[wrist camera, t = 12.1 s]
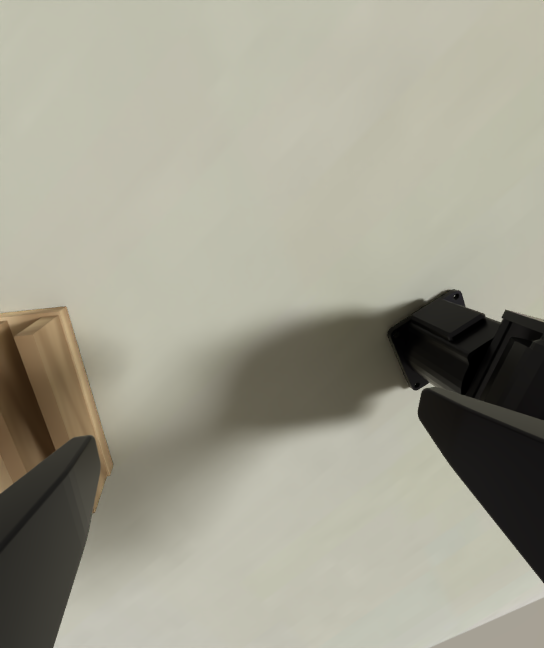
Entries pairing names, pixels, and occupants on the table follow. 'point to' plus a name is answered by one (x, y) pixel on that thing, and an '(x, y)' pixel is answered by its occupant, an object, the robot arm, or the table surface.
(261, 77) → the table surface
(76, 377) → the rack
